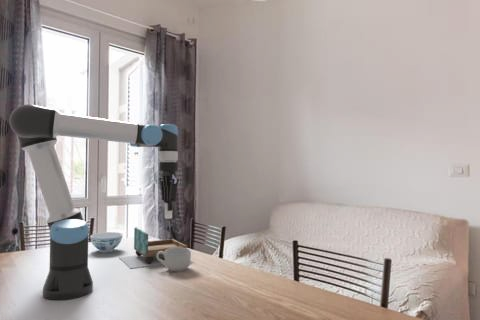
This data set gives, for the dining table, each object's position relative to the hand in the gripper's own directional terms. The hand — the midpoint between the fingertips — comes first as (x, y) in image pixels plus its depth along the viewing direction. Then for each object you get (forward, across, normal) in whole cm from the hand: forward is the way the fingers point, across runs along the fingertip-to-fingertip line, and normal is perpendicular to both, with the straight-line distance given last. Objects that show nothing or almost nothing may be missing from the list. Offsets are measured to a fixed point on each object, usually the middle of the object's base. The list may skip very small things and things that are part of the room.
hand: (168, 218), depth 146 cm
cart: (+21, +16, -4) cm, 27 cm away
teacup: (+21, -2, -1) cm, 21 cm away
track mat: (+21, +17, -1) cm, 27 cm away
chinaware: (+21, +44, +11) cm, 50 cm away
